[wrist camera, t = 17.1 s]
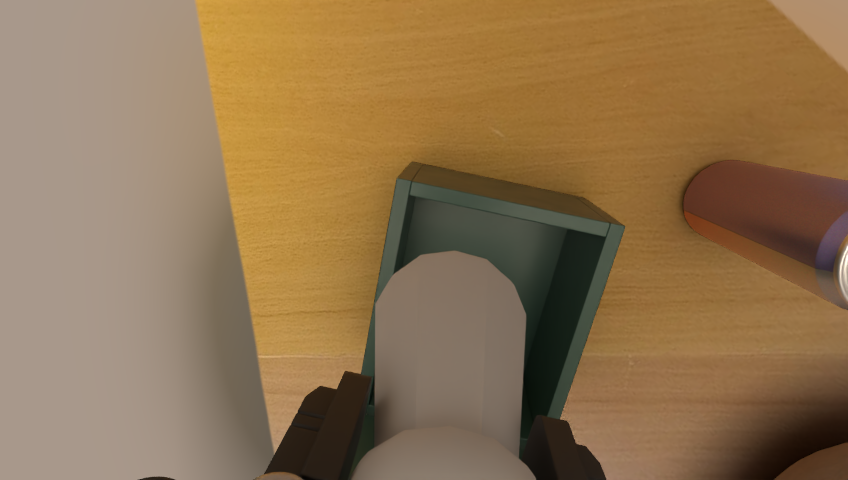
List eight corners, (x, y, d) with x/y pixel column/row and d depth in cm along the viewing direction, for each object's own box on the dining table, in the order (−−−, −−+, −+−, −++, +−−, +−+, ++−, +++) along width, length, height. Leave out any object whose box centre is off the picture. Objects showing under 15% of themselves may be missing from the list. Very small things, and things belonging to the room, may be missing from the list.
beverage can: (675, 169, 34) (833, 213, 20) (760, 150, 33) (989, 182, 19) (682, 243, 36) (834, 334, 21) (763, 227, 35) (979, 310, 20)
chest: (411, 161, 35) (396, 177, 27) (585, 197, 35) (626, 226, 27) (375, 348, 40) (353, 412, 32) (528, 381, 40) (547, 455, 31)
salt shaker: (357, 301, 20) (193, 613, 8) (444, 207, 19) (416, 399, 6) (455, 382, 21) (451, 786, 8) (546, 297, 19) (705, 633, 7)
